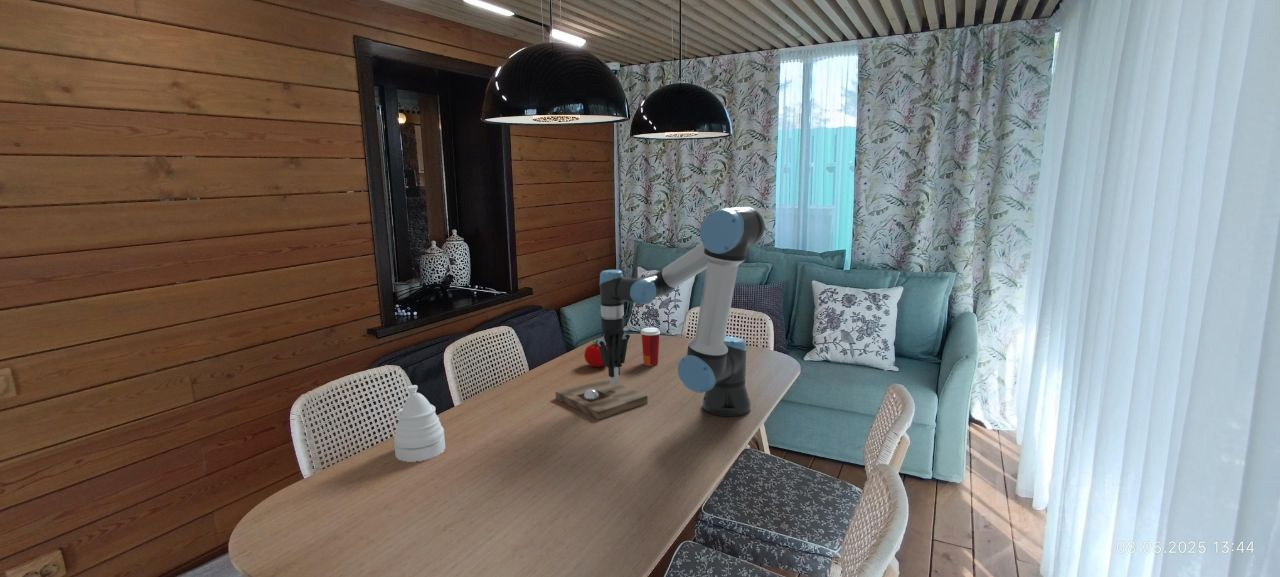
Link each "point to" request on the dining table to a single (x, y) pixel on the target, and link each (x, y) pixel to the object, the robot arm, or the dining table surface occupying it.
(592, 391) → the steel ball
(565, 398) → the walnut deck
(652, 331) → the paper cup
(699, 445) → the dining table surface
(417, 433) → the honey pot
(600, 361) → the tomato
